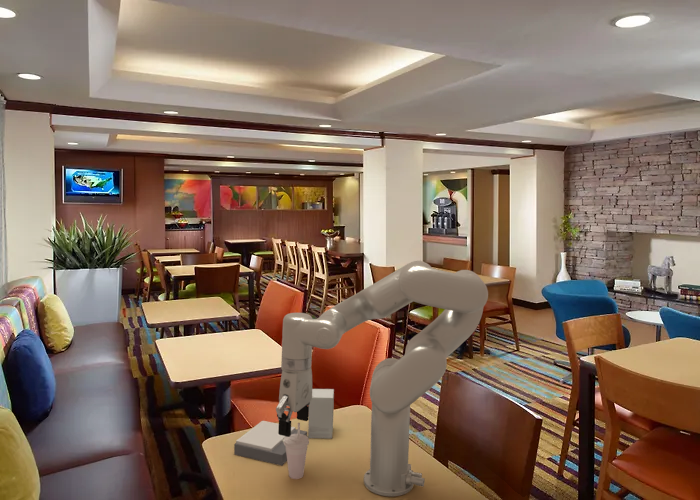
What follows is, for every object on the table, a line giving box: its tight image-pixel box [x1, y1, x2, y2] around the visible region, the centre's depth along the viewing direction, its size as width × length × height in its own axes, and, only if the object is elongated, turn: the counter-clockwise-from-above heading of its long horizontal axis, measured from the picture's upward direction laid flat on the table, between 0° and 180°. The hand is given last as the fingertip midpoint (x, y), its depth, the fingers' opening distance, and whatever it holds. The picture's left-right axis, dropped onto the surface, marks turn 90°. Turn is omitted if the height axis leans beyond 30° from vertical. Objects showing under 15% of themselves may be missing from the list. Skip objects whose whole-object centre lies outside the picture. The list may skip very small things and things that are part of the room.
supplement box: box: [307, 388, 335, 439], centre depth 154 cm, size 7×7×13 cm
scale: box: [233, 420, 308, 467], centre depth 145 cm, size 15×15×4 cm
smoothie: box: [284, 422, 310, 480], centre depth 130 cm, size 6×6×14 cm
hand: (293, 427), depth 130 cm, fingers open, 9 cm apart
